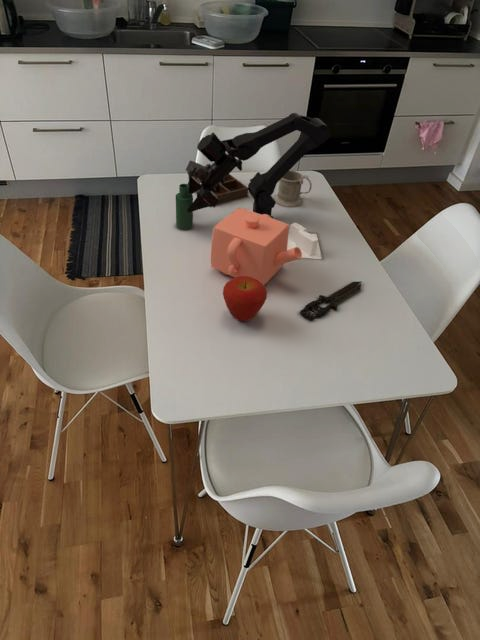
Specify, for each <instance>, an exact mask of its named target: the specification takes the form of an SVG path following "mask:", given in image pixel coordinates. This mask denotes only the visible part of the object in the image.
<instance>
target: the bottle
mask: <svg viewBox="0 0 480 640" xmlns="http://www.w3.org/2000/svg"><path fill="white" fill-rule="evenodd" d="M178 187H179V188H178V192H177V193H176V194H175V225H176V226H175V227H176V228H177V229H178V230H180V231H189V230H191V229H193V227H194V213H193V212H194V211H193V212H190V213H189V212H188V211H187V209H188V208H189V207H190V205H191V204H192V203H193V202H194V195H193V194H191V193H189V185H188V183H180V184H179V186H178Z"/></svg>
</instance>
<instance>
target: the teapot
mask: <svg viewBox="0 0 480 640" xmlns="http://www.w3.org/2000/svg"><path fill="white" fill-rule="evenodd" d="M271 217H272V215H271V216H269V215H267V214H263V215H261V214H258V213H255V212H253V210H249V209H246V208H242V207H238V208H236V209H235V210H234V211H232V212H231V213H229V214H228V215H227V216H226V217H224V218H223V219H222V220H221V221H219V222H218V223H217V224H216V225H214V227H213V230H212V237H211V246H210V267H211V268H213V269H215V270H217V271H219V272H221V273H222V274H223V275H224V276H225V275H226V276H230V277H233V278H235V277H238V276H248V277H251V278H254V279H256V280H258V281H259V282H261V283H262V284H263V285H264V286H266V284H267V283H268V282H269V281H270V280H271V279H272V277H274V276H275V275H276V273H277V272H278V271H280V269H281V268H282V267H283V266H284V264H287V263H290V262H294V261H297V260H301V259H302V258H301V257H302V252H301V250H300V249H299V248H298V247H295V248H292V249H290V250H287V245H288V232H290V226H289V225H290V224H287V223H285V222H283V221H281V220H278V219H275V218H274V217H273V218H274V219H273V218H271Z"/></svg>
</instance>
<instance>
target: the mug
mask: <svg viewBox="0 0 480 640" xmlns="http://www.w3.org/2000/svg"><path fill="white" fill-rule="evenodd" d="M304 179H306V180H307V181H308V182H309V189H308V191H302V185H303V184H304ZM277 190H278V192H277V194H276V195H275V197H274V200H275V202H276V204H278V205H280V206H282V207H287V208H292V207H294V208H295V207H298V206H300V205H301V204H302V199H301V195H302V194H305V195H306V194H309V193H310V192H311V190H312V182H311V179H310V176H309V175H307V174H302V173H300V172H299V171H296V170H289V171H288V172H287V173H286V174H285V175H284V176H283V177H282V178H281V179H280V180H279V181H278V189H277Z"/></svg>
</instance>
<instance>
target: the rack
mask: <svg viewBox="0 0 480 640" xmlns="http://www.w3.org/2000/svg"><path fill="white" fill-rule="evenodd" d="M224 181H225V182H224V183H221V182H220V183H219V184H218V185H217V186H216V187H215V190H216V191H215V192H214V194H216V196H217V198H218V200H219V201H218V204H217V205H216V206H218V205H221V204H226V203H229V202H233V201H237V200H240V199H244V198H248V197H249V191H248V186H247V185H245V184H244V183H242V182H241V181H240V180H238V178H237V177H234V176H233V175H232V174H231V173H229V174H228V175H227V176H226V177H225V178H224ZM197 192H199V190H198V191H196V192H195V193H196V194H197Z"/></svg>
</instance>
